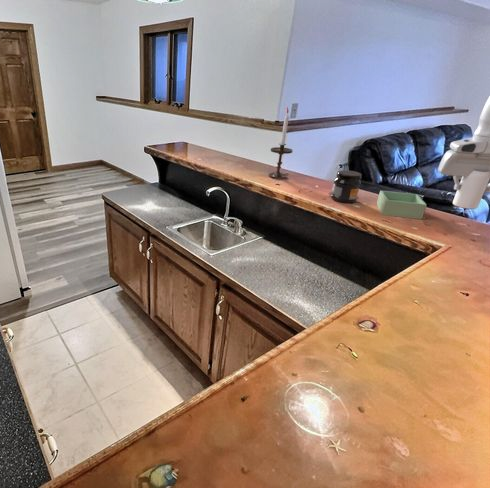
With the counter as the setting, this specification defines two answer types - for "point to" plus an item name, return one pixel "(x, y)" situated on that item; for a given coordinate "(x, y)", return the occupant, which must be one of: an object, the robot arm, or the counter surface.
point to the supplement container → (346, 186)
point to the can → (471, 189)
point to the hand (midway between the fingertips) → (471, 190)
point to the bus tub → (401, 204)
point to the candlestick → (281, 150)
